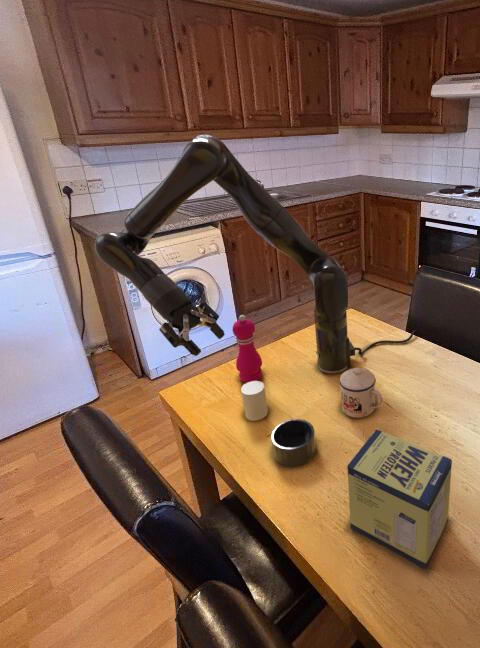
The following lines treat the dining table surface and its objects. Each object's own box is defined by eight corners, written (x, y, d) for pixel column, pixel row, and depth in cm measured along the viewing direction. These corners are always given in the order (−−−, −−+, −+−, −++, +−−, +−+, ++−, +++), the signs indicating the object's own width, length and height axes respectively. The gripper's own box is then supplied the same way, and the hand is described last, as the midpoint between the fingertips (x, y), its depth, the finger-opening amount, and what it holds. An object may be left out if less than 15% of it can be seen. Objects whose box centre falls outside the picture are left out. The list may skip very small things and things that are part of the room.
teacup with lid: (333, 410, 107) (331, 372, 102) (354, 391, 113) (353, 355, 109) (371, 428, 100) (371, 389, 96) (392, 408, 107) (392, 370, 102)
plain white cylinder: (266, 404, 109) (263, 378, 106) (269, 417, 104) (265, 391, 101) (244, 408, 108) (240, 383, 104) (246, 423, 103) (241, 396, 100)
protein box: (376, 487, 85) (375, 427, 79) (448, 521, 77) (454, 458, 71) (348, 528, 76) (345, 465, 70) (426, 571, 69) (430, 505, 63)
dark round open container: (310, 431, 100) (309, 415, 98) (319, 460, 91) (318, 442, 90) (271, 441, 97) (269, 424, 95) (276, 471, 89) (274, 454, 87)
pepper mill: (267, 369, 124) (259, 309, 116) (258, 384, 117) (249, 321, 109) (243, 368, 124) (234, 309, 117) (234, 383, 118) (223, 321, 110)
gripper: (148, 299, 94) (197, 352, 94) (193, 277, 106) (236, 324, 107) (135, 317, 97) (183, 367, 98) (180, 293, 110) (222, 338, 110)
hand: (211, 345), depth 102 cm, fingers open, 8 cm apart
